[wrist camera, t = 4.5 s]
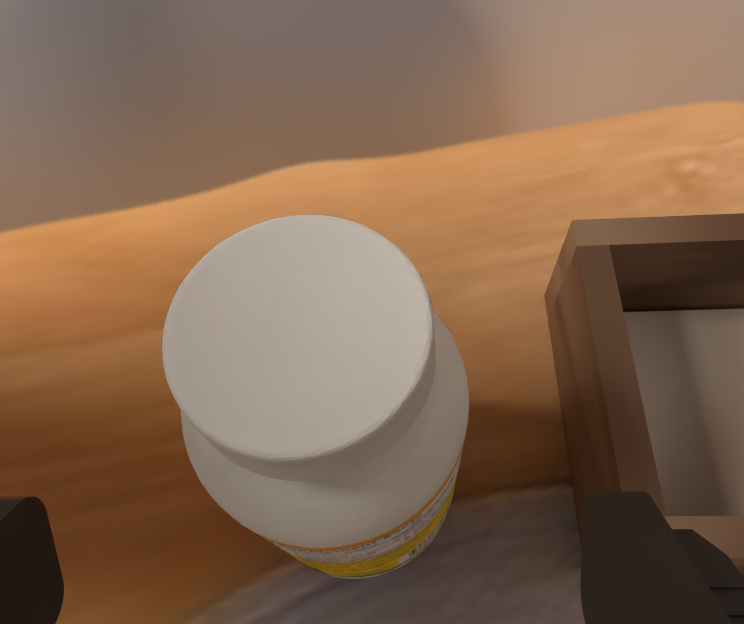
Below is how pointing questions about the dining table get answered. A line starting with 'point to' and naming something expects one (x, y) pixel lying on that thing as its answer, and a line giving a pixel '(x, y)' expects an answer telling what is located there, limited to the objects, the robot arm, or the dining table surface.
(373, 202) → the dining table surface
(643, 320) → the holder
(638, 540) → the robot arm
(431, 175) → the dining table surface
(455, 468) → the supplement bottle
